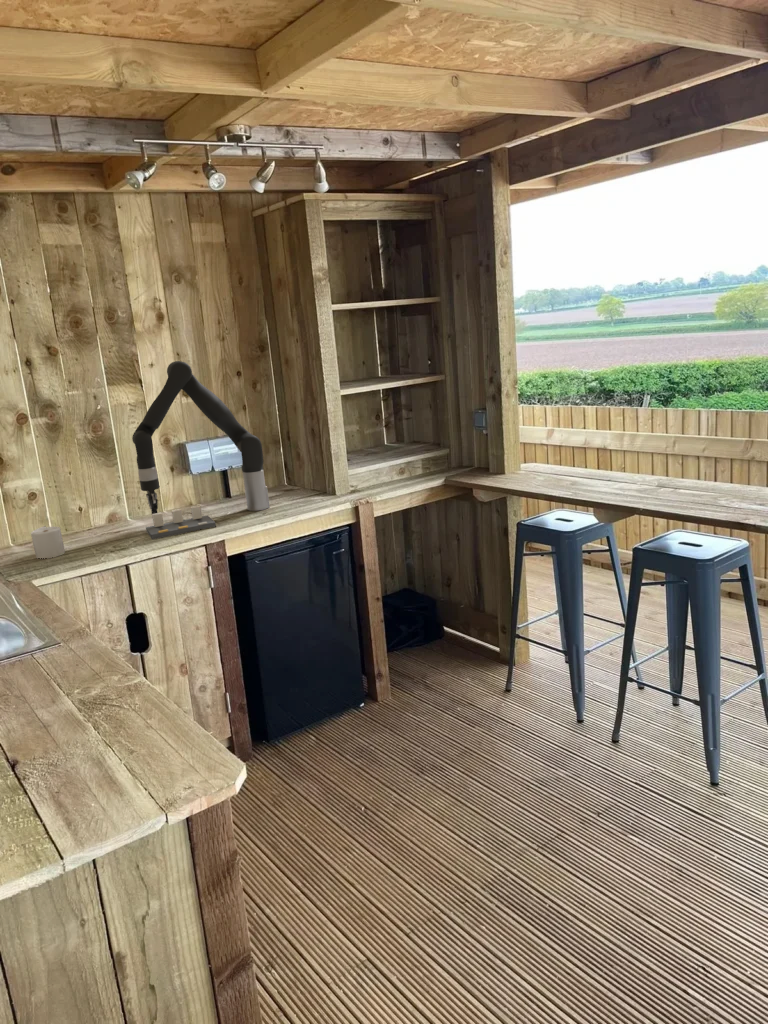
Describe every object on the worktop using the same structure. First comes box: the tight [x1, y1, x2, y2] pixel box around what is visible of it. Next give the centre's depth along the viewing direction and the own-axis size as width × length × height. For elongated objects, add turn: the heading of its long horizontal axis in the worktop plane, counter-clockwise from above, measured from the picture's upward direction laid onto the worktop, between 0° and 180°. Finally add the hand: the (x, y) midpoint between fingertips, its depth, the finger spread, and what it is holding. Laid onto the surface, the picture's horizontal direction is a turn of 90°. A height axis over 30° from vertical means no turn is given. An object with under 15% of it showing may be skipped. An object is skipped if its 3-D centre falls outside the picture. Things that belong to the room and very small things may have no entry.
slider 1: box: [151, 512, 165, 527], centre depth 322 cm, size 4×3×5 cm
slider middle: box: [171, 508, 184, 523], centre depth 326 cm, size 4×3×5 cm
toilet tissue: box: [30, 525, 66, 560], centre depth 303 cm, size 11×12×10 cm
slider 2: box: [190, 504, 203, 520], centre depth 329 cm, size 4×3×5 cm
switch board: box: [145, 515, 217, 540], centre depth 323 cm, size 26×14×2 cm, turn 115°
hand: (155, 518), depth 329 cm, fingers closed
